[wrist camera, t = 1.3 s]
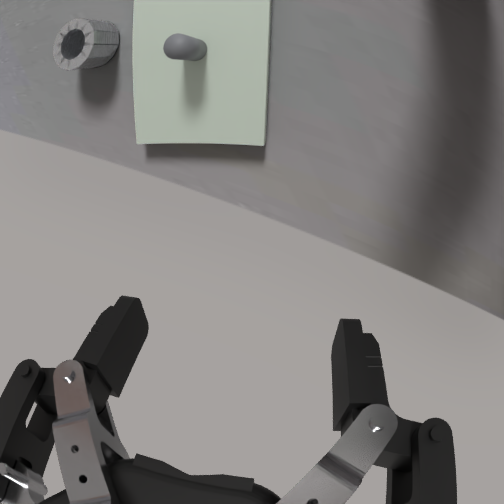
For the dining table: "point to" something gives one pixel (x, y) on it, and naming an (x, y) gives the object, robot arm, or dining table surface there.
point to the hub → (85, 44)
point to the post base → (201, 71)
